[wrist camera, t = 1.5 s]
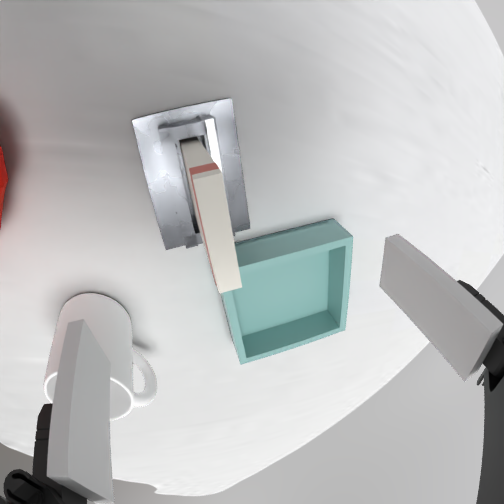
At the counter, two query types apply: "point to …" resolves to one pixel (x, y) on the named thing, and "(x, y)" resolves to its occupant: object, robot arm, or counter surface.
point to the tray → (289, 289)
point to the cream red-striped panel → (211, 213)
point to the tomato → (2, 181)
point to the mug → (105, 351)
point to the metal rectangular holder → (173, 171)
